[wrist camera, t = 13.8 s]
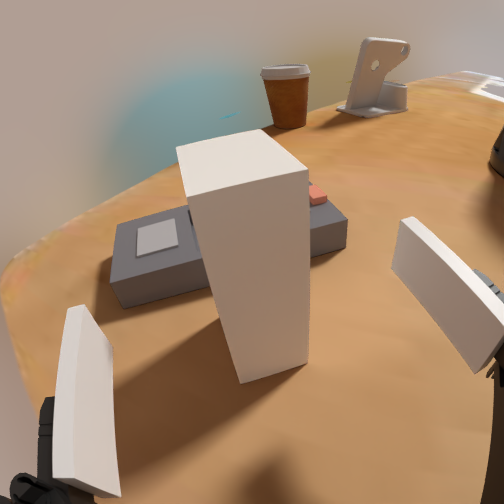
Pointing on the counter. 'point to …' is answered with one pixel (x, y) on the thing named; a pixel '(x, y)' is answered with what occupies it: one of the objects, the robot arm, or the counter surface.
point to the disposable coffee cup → (287, 93)
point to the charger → (253, 246)
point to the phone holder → (377, 80)
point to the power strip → (192, 251)
